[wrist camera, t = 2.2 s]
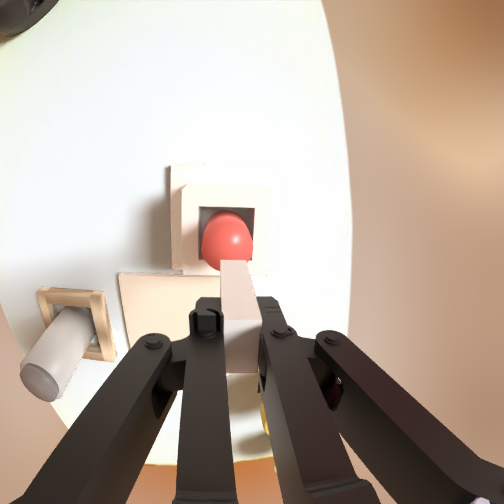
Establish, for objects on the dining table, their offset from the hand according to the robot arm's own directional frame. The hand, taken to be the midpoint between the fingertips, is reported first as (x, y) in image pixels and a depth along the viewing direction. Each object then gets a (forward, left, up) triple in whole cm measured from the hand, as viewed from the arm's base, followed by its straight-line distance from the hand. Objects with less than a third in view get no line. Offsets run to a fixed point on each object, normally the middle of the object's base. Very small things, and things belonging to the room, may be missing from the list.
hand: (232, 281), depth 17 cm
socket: (+15, -21, -17) cm, 31 cm away
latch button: (0, 0, -11) cm, 11 cm away
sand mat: (+15, -6, -17) cm, 23 cm away
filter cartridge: (+15, -21, -17) cm, 31 cm away
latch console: (0, 0, -17) cm, 17 cm away
